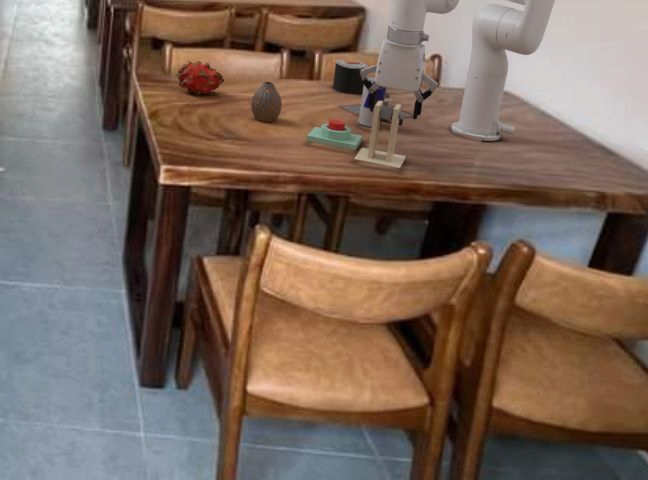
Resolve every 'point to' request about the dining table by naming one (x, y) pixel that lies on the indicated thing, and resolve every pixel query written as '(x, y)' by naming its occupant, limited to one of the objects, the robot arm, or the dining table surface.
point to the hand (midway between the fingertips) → (393, 114)
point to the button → (336, 125)
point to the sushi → (348, 76)
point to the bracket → (372, 153)
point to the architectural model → (386, 102)
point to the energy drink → (365, 112)
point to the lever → (388, 115)
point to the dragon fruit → (199, 78)
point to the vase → (266, 103)
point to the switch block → (335, 137)
